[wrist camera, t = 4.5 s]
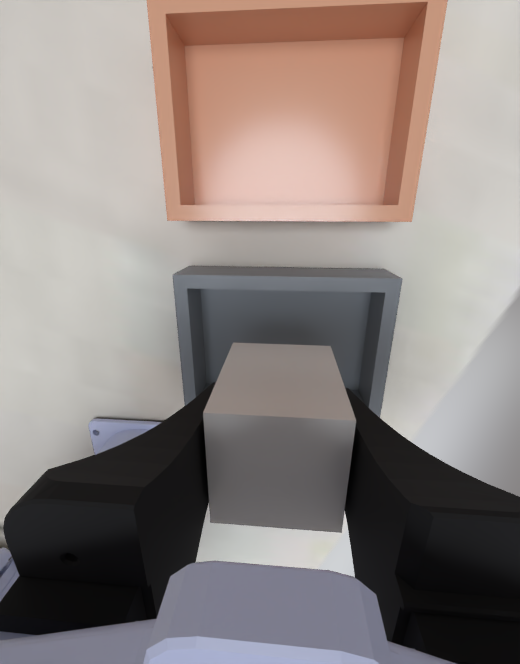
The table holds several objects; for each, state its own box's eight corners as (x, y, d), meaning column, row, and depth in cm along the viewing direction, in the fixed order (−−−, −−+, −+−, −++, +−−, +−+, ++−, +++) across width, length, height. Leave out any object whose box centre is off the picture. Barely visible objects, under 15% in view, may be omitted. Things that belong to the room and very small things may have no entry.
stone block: (323, 427, 14) (341, 532, 9) (235, 423, 14) (210, 522, 10) (330, 346, 13) (356, 420, 8) (233, 342, 13) (202, 412, 8)
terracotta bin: (391, 220, 17) (411, 221, 14) (186, 219, 18) (167, 220, 15) (418, 23, 14) (451, -25, 11) (172, 33, 15) (145, -9, 12)
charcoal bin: (366, 395, 21) (378, 423, 18) (198, 388, 22) (185, 413, 19) (384, 268, 18) (402, 278, 15) (189, 265, 19) (172, 274, 16)
